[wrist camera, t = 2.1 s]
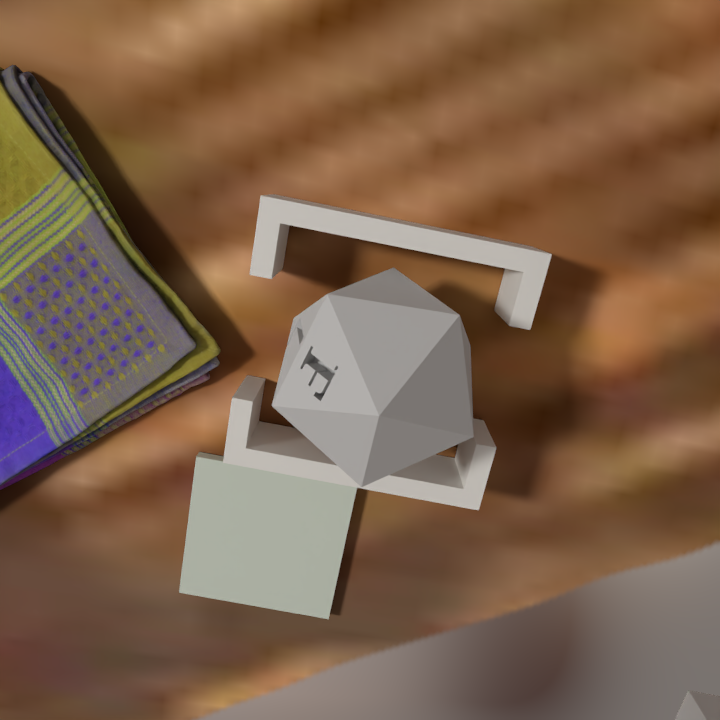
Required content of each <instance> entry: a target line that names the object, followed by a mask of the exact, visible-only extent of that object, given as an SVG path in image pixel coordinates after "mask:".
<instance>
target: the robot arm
mask: <svg viewBox="0 0 720 720" xmlns="http://www.w3.org/2000/svg"><path fill="white" fill-rule="evenodd" d="M675 720H720V696H715V695H710V694H705V693H700V692H695V691H690V690H689V691H688V692H687V694H686V696H685V699H684V701H683V703H682V705H681V708H680V710H679V712H678V714H677V716H676V718H675Z"/></svg>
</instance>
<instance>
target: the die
mask: <svg viewBox="0 0 720 720" xmlns="http://www.w3.org/2000/svg"><path fill="white" fill-rule="evenodd" d="M287 345H288V346H287V348H286V351H285V355H284V359H283V363H282V367H281V371H280V375H279V379H278V383H277V387H276V391H275V395H274V399H273V402H272V407H273V408H275V409H276V410H277V411H278V412H279V413H280V414H281V415H282V416H283V417H284V418H286V419H287V420H288V421H289V422H290V423H291V424H292V425H293V426H294V427H295V428H297V429H298V430H299V431H300V432H301V433H302V434H303V435H304V436H305V437H307V438H308V439H309V440H310V441H311V442H312V443H313V444H314V445H315V446H316V447H318V448H319V449H320V450H321V451H322V452H323V453H324V454H325V455H326V456H327V457H329V458H330V459H331V460H332V461H333V462H334V463H335V464H336V465H337V466H338V467H340V468H341V469H342V470H343V471H344V472H345V473H346V474H347V475H348V476H350V477H351V478H352V479H353V480H354V481H355V482H356V483H357V484H358V485H359V486H361V487H363V486H366V485H368V484H370V483H372V482H375V481H377V480H379V479H381V478H383V477H386V476H388V475H390V474H392V473H395V472H397V471H399V470H401V469H404V468H406V467H408V466H410V465H412V464H415V463H417V462H419V461H421V460H424V459H426V458H428V457H430V456H433V455H435V454H437V453H439V452H441V451H444V450H446V449H448V448H450V447H453V446H455V445H457V444H459V443H462V442H464V441H466V440H468V439H470V438H473V437H474V432H473V403H472V374H471V346H470V343H469V340H468V337H467V334H466V332H465V329H464V326H463V323H462V320H461V317H460V315H459V314H458V313H456V312H455V311H453V310H452V309H451V308H449V307H448V306H446V305H445V304H444V303H442V302H441V301H439V300H438V299H437V298H435V297H434V296H432V295H431V294H430V293H428V292H427V291H426V290H424V289H423V288H421V287H420V286H419V285H417V284H416V283H414V282H413V281H412V280H410V279H409V278H407V277H406V276H405V275H403V274H402V273H400V272H399V271H398V270H396V269H395V268H391V269H389V270H386V271H384V272H381V273H379V274H376V275H374V276H371V277H369V278H366V279H364V280H361V281H359V282H356V283H354V284H351V285H349V286H346V287H344V288H341V289H338V290H336V291H333V292H331V293H328V294H327V295H325V296H324V297H322V298H321V299H320V300H318V301H317V302H315V303H314V304H313V305H311V306H310V307H308V308H307V309H306V310H304V311H303V312H301V313H300V314H299V315H297V316H296V317H295V318H294V319H293V323H292V327H291V331H290V335H289V339H288V343H287Z"/></svg>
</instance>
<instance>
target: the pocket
mask: <svg viewBox="0 0 720 720" xmlns="http://www.w3.org/2000/svg"><path fill="white" fill-rule="evenodd" d="M290 225H291V226H296V227H301V228H306V229H311V230H316V231H321V232H326V233H331V234H336V235H341V236H346V237H351V238H356V239H361V240H366V241H371V242H376V243H381V244H386V245H391V246H396V247H401V248H406V249H411V250H416V251H421V252H426V253H431V254H436V255H441V256H446V257H451V258H456V259H461V260H466V261H471V262H476V263H481V264H486V265H491V266H496V267H501V268H505V271H504V274H503V278H502V282H501V286H500V289H499V293H498V297H497V301H496V305H495V308H494V311H495V312H496V313H497V314H498V315H499V316H500V317H501V318H502V319H503V320H504V321H505V322H506V323H507V324H508V325H509V326H512V327H517V328H522V329H527V330H530V329H531V326H532V322H533V319H534V315H535V312H536V308H537V305H538V301H539V298H540V294H541V291H542V287H543V284H544V280H545V277H546V273H547V270H548V266H549V263H550V259H551V256H552V254H550V253H547V252H545V251H542V250H540V249H537V248H534V247H532V246H527V245H522V244H517V243H512V242H507V241H503V240H498V239H493V238H488V237H483V236H478V235H473V234H468V233H463V232H458V231H453V230H448V229H443V228H438V227H433V226H428V225H423V224H418V223H414V222H409V221H404V220H399V219H394V218H389V217H384V216H379V215H374V214H369V213H364V212H359V211H354V210H349V209H344V208H339V207H334V206H329V205H325V204H320V203H315V202H310V201H305V200H300V199H295V198H290V197H285V196H280V195H275V194H271V195H261V198H260V205H259V212H258V219H257V226H256V233H255V240H254V247H253V254H252V261H251V268H250V275H254V276H259V277H264V278H269V279H272V278H273V277H274V276H275V275H276V274H277V273H279V272H280V271H281V270H282V269H283V265H284V258H285V252H286V245H287V239H288V233H289V226H290ZM264 385H265V378H260V377H255V376H249V375H247V376H246V378H245V379H244V381H243V382H242V384H241V385H240V387H239V388H238V390H237V391H236V393H235V394H234V396H233V397H232V402H231V409H230V416H229V424H228V431H227V438H226V445H225V452H224V459H223V463H227V464H232V465H238V466H243V467H248V468H254V469H259V470H264V471H270V472H275V473H281V474H286V475H291V476H297V477H302V478H308V479H313V480H318V481H324V482H329V483H334V484H340V485H345V486H351V487H356V488H361V489H367V490H372V491H377V492H383V493H388V494H394V495H399V496H404V497H410V498H415V499H421V500H426V501H431V502H437V503H442V504H447V505H453V506H458V507H464V508H469V509H474V510H479V507H480V504H481V500H482V497H483V493H484V490H485V486H486V483H487V479H488V476H489V472H490V469H491V465H492V462H493V458H494V455H495V451H496V446H495V444H494V441H493V439H492V437H491V435H490V433H489V431H488V429H487V426H486V424H485V422H484V420H479V419H474V418H473V432H474V437H473V438H470V439H468V440H466V441H464V442H462V443H459V444H458V448H457V451H456V455H455V458H452V457H447V456H441V455H436V454H435V455H433V456H430V457H428V458H426V459H424V460H421V461H419V462H417V463H415V464H412V465H410V466H408V467H406V468H404V469H401V470H399V471H397V472H395V473H392V474H390V475H388V476H386V477H383V478H381V479H379V480H377V481H375V482H372V483H370V484H368V485H366V486H363V487H361V486H359V485H358V484H357V483H356V482H355V481H354V480H353V479H352V478H351V477H350V476H348V475H347V474H346V473H345V472H344V471H343V470H342V469H341V468H340V467H338V466H337V465H336V464H335V463H334V462H333V461H332V460H331V459H330V458H329V457H327V456H326V455H325V454H324V453H323V452H322V451H321V450H320V449H319V448H318V447H316V446H315V445H314V444H313V443H312V442H311V441H310V440H309V439H308V438H307V437H305V436H304V435H303V434H302V433H301V432H300V431H299V430H298V429H297V428H293V427H288V426H282V425H277V424H272V423H266V422H261V421H259V417H260V411H261V404H262V398H263V392H264Z"/></svg>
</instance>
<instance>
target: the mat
mask: <svg viewBox="0 0 720 720" xmlns="http://www.w3.org/2000/svg"><path fill="white" fill-rule="evenodd" d="M223 459H224V456H219V455H214V454H208V453H203V452H199V453H198V455H197V456H196V463H195V471H194V479H193V487H192V494H191V502H190V510H189V518H188V526H187V534H186V542H185V550H184V558H183V565H182V573H181V581H180V589H179V593H184V594H190V595H196V596H201V597H207V598H213V599H218V600H224V601H229V602H235V603H241V604H246V605H252V606H258V607H263V608H269V609H274V610H280V611H286V612H291V613H297V614H303V615H308V616H314V617H319V618H325V619H329V615H330V610H331V606H332V601H333V597H334V592H335V587H336V583H337V578H338V574H339V569H340V564H341V560H342V555H343V550H344V546H345V541H346V537H347V532H348V527H349V523H350V518H351V514H352V509H353V504H354V500H355V495H356V490H357V488H356V487H351V486H345V485H340V484H334V483H329V482H324V481H318V480H313V479H308V478H302V477H297V476H291V475H286V474H281V473H275V472H270V471H264V470H259V469H254V468H248V467H243V466H238V465H232V464H227V463H223Z"/></svg>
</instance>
